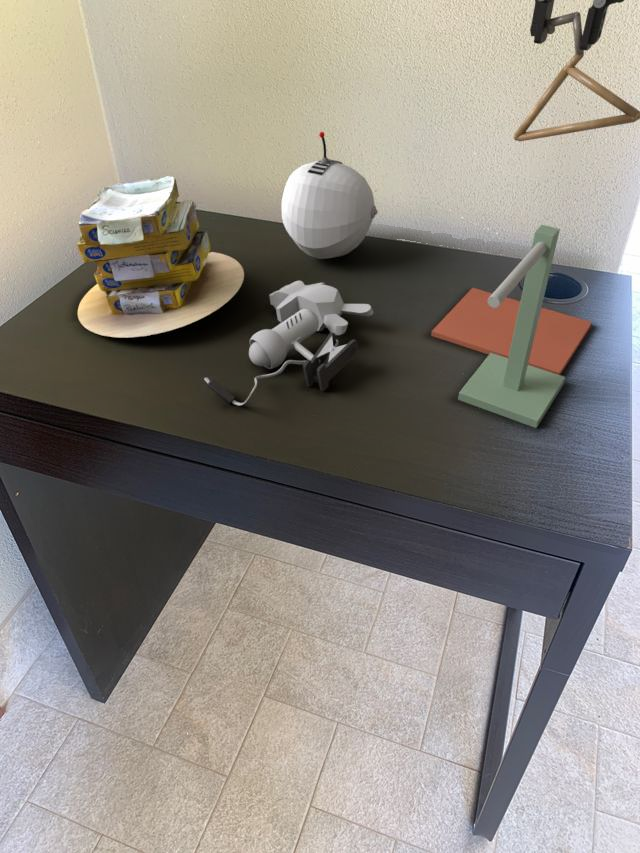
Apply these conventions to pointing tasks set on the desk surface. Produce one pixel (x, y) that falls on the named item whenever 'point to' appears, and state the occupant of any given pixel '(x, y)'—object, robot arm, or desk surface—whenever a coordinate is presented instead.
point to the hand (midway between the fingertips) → (562, 44)
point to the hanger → (570, 69)
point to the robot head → (327, 207)
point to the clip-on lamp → (289, 334)
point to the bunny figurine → (316, 305)
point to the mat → (511, 330)
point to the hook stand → (519, 345)
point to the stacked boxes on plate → (150, 262)
